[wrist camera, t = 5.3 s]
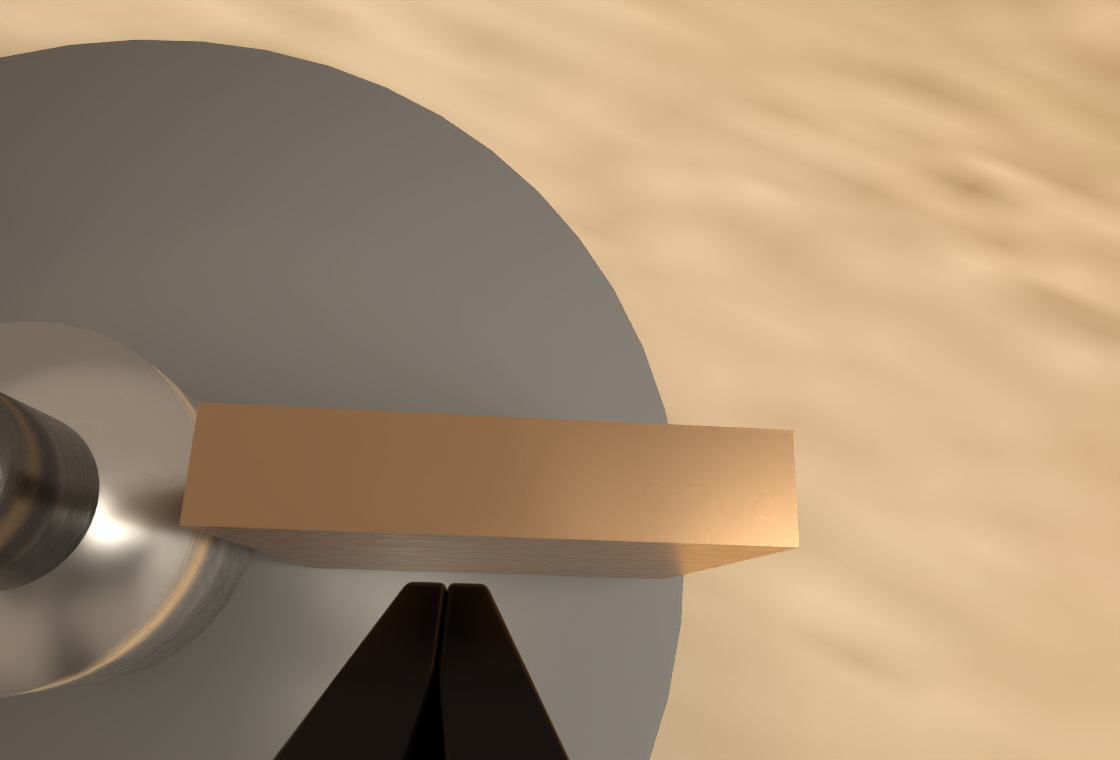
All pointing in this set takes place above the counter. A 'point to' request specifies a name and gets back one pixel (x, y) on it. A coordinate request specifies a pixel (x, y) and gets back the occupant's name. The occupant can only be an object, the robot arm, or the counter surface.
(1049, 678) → the counter surface
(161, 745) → the gauge plate
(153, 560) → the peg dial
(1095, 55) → the counter surface
